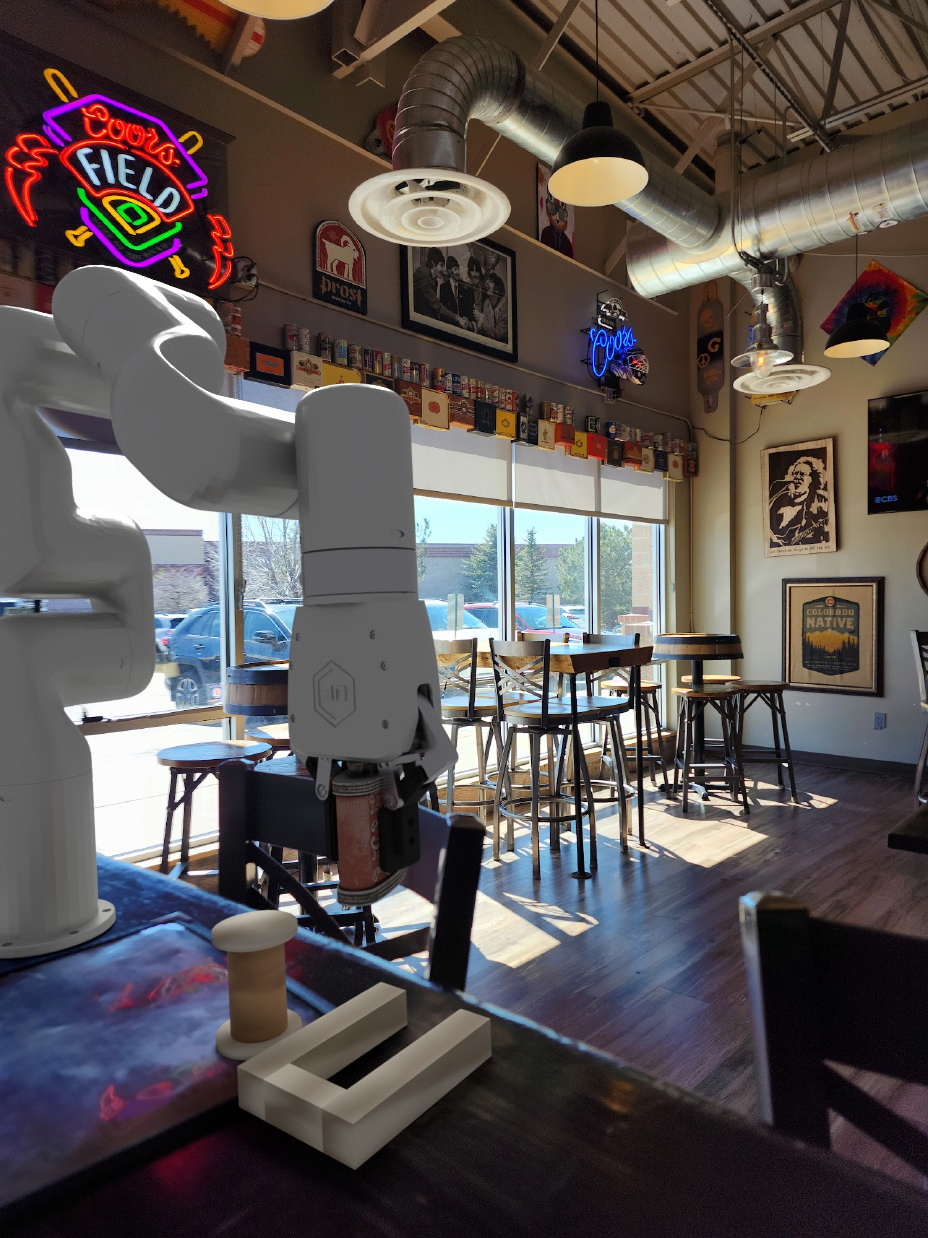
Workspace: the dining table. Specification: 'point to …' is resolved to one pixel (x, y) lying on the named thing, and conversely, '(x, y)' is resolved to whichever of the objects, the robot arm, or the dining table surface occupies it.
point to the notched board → (380, 1102)
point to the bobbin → (255, 982)
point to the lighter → (361, 836)
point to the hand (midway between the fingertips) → (373, 858)
